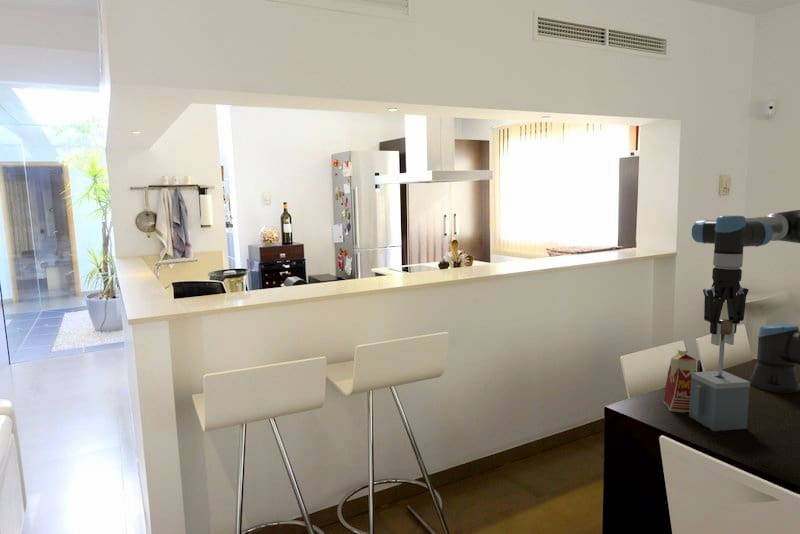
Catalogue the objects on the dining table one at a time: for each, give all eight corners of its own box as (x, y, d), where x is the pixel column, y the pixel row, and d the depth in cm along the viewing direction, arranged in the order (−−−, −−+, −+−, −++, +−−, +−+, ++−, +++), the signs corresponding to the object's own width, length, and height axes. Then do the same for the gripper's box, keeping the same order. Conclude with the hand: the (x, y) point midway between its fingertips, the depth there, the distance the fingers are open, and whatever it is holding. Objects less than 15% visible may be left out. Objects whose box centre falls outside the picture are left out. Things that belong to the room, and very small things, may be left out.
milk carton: (700, 413, 177) (704, 353, 174) (669, 411, 178) (672, 351, 176) (691, 403, 185) (695, 345, 183) (662, 401, 187) (665, 344, 185)
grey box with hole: (720, 414, 176) (723, 370, 174) (746, 428, 165) (750, 381, 163) (683, 417, 174) (685, 372, 172) (707, 431, 163) (710, 384, 161)
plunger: (721, 392, 173) (726, 316, 170) (740, 401, 165) (746, 322, 162) (697, 393, 172) (702, 317, 169) (716, 403, 164) (721, 323, 161)
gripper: (743, 265, 169) (738, 339, 171) (692, 266, 166) (688, 342, 169) (762, 268, 161) (757, 346, 164) (710, 269, 159) (705, 348, 162)
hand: (722, 343), depth 166 cm, fingers closed on plunger, 4 cm apart
